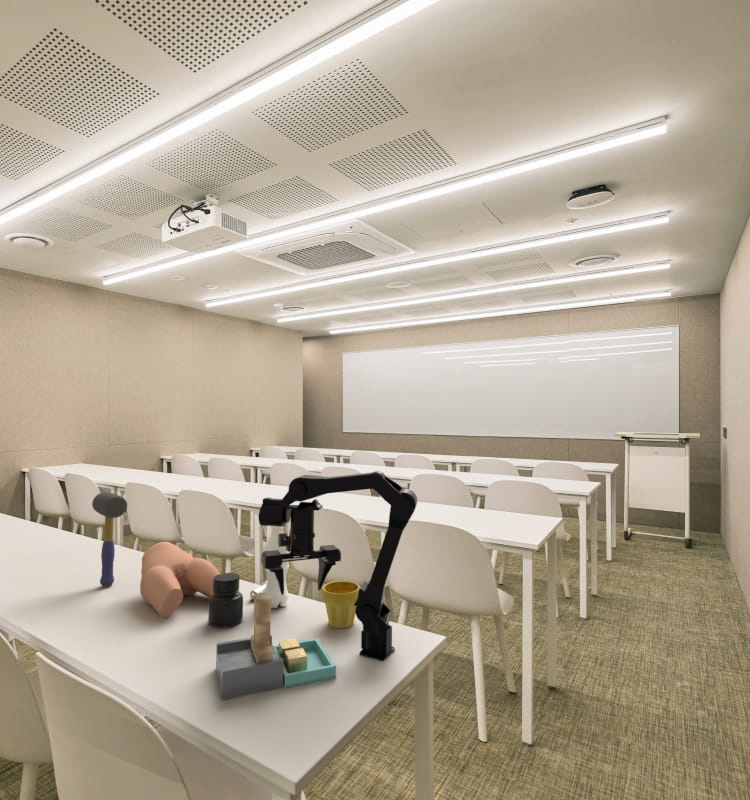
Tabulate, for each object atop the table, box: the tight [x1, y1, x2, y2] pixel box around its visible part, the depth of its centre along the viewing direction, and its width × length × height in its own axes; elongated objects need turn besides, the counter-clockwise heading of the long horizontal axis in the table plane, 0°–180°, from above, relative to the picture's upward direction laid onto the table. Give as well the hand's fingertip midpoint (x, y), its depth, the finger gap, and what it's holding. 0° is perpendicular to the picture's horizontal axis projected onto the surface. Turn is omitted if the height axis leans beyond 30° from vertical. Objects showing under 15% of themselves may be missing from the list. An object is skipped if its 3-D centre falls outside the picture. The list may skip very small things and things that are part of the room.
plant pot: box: [321, 580, 361, 629], centre depth 131 cm, size 10×10×10 cm
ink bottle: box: [207, 572, 244, 628], centre depth 132 cm, size 10×9×12 cm
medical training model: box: [139, 541, 222, 619], centre depth 147 cm, size 21×25×13 cm
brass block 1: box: [278, 637, 300, 664], centre depth 109 cm, size 4×4×4 cm
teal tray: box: [273, 638, 337, 689], centre depth 108 cm, size 11×14×2 cm
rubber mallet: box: [92, 491, 128, 588], centre depth 158 cm, size 12×8×30 cm, turn 48°
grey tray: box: [215, 633, 284, 701], centre depth 103 cm, size 12×13×6 cm
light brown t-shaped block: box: [250, 593, 273, 663], centre depth 105 cm, size 3×9×12 cm, turn 23°
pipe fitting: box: [249, 580, 267, 601], centre depth 149 cm, size 8×4×7 cm
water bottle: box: [264, 526, 290, 609], centre depth 144 cm, size 7×7×25 cm
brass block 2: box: [284, 648, 307, 673], centre depth 105 cm, size 4×4×4 cm
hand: (300, 591), depth 118 cm, fingers open, 9 cm apart
